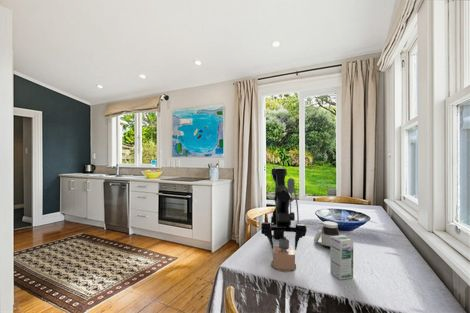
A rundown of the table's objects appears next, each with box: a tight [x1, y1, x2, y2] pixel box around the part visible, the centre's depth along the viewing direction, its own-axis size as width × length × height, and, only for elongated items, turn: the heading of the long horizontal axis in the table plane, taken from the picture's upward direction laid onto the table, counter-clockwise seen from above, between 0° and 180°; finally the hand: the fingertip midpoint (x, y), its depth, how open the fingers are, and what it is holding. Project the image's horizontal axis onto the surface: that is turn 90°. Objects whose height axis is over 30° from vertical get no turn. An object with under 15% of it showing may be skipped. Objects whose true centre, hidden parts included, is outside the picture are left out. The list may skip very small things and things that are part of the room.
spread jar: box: [313, 220, 340, 250], centre depth 116 cm, size 12×11×12 cm
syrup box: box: [329, 234, 354, 281], centre depth 87 cm, size 6×6×14 cm
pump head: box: [278, 238, 290, 251], centre depth 93 cm, size 6×4×8 cm, turn 173°
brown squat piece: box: [270, 245, 297, 273], centre depth 94 cm, size 10×10×6 cm
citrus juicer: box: [286, 177, 300, 223], centre depth 156 cm, size 11×10×30 cm
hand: (284, 248), depth 92 cm, fingers open, 9 cm apart
